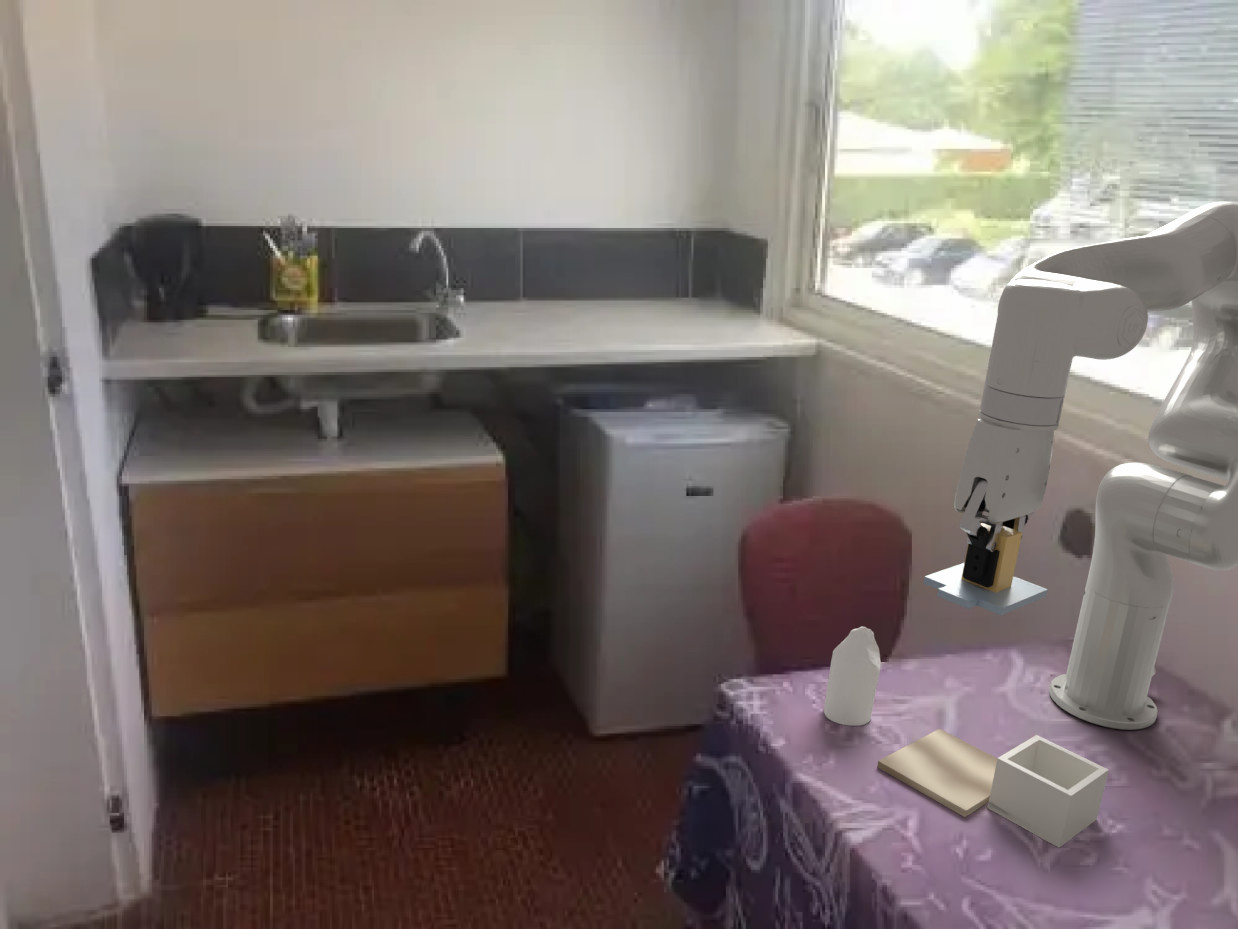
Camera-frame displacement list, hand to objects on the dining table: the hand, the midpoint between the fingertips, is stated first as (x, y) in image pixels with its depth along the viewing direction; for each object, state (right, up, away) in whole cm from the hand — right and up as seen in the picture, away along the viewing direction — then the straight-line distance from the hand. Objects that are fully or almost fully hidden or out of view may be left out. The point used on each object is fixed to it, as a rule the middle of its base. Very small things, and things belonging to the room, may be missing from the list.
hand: (987, 577), depth 112 cm
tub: (+6, -25, +1) cm, 26 cm away
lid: (0, -1, 0) cm, 1 cm away
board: (-2, -22, +7) cm, 24 cm away
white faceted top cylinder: (-11, -19, +18) cm, 28 cm away
